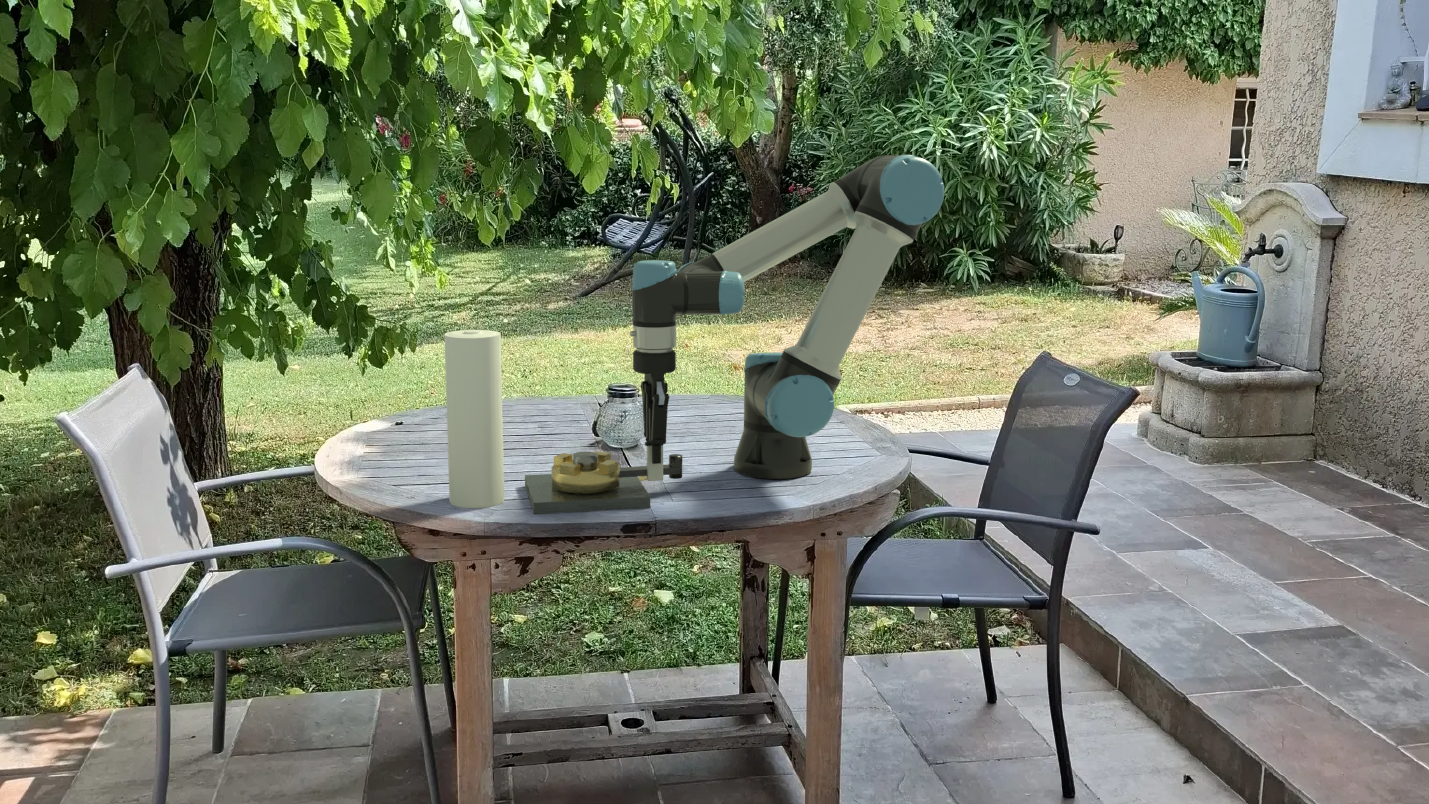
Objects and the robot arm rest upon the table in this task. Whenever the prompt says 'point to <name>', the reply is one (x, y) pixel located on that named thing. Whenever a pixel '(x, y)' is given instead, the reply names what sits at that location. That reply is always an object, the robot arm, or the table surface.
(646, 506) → the collar plate
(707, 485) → the table surface
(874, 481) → the table surface
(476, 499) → the cylinder container
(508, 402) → the table surface
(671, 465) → the ring nut
